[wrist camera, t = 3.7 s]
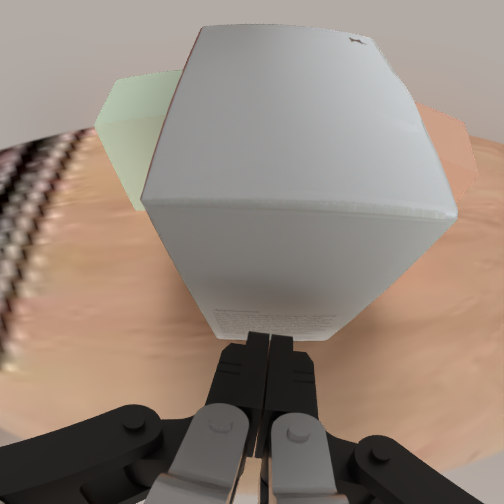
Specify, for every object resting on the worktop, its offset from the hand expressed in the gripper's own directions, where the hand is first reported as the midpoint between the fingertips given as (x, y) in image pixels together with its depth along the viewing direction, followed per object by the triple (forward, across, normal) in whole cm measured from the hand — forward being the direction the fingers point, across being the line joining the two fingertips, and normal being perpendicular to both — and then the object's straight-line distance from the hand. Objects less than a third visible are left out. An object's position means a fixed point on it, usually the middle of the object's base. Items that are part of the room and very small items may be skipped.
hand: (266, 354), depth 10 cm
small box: (+8, 0, +1) cm, 9 cm away
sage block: (+12, +8, -4) cm, 15 cm away
